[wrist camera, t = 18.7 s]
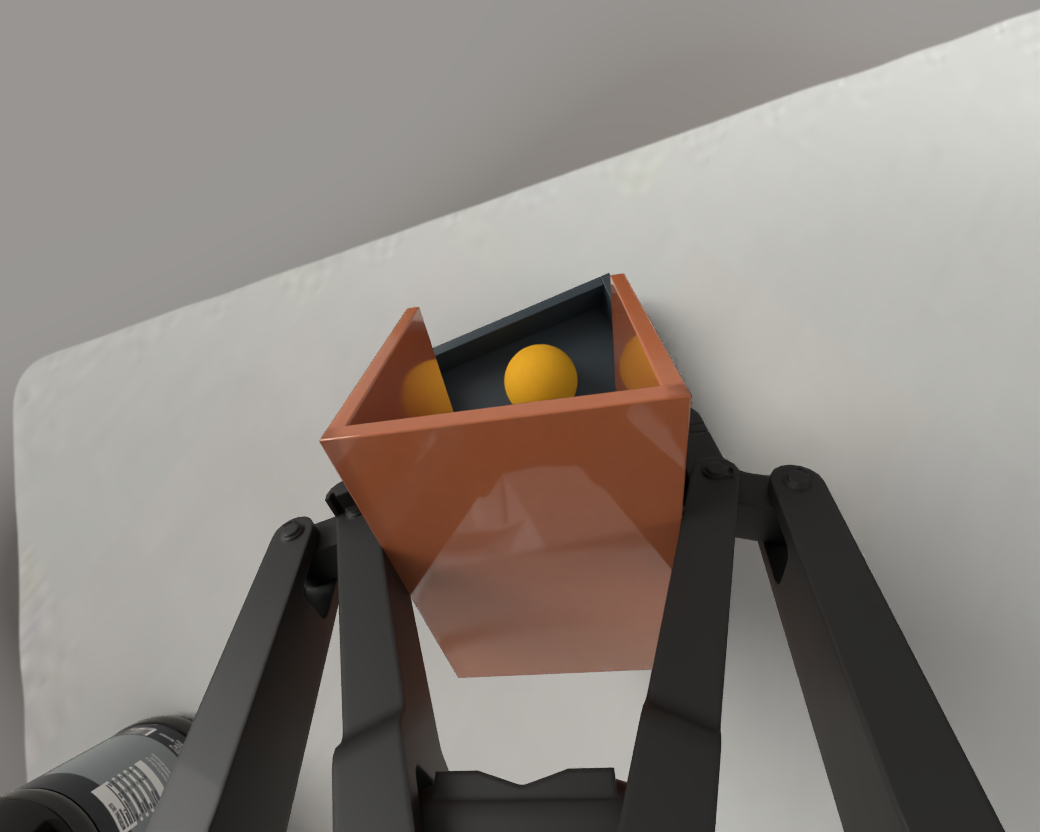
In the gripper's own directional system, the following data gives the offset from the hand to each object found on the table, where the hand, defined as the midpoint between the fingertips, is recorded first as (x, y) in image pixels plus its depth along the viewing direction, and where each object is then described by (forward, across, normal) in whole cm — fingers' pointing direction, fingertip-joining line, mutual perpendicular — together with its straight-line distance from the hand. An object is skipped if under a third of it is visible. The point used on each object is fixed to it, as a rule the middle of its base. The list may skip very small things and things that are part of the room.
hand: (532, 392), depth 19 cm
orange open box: (-3, 0, -7) cm, 8 cm away
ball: (+7, 0, -4) cm, 8 cm away
